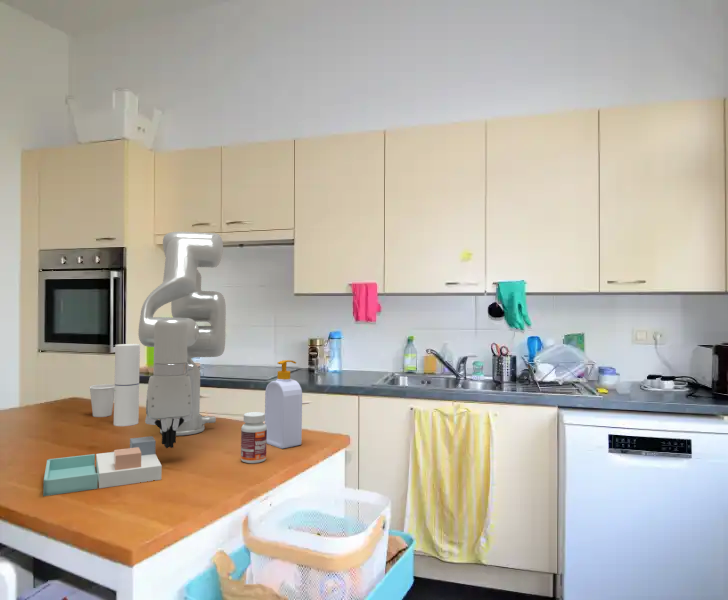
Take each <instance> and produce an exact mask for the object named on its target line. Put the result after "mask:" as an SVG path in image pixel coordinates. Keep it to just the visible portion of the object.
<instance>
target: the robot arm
mask: <svg viewBox="0 0 728 600" xmlns="http://www.w3.org/2000/svg"><path fill="white" fill-rule="evenodd" d="M162 248H163V253H164V256H165V260H164V261H165V262H164V269H163V279H162V283H161V284H159V285H158V286H157V287H155V289H153V290H152V291H151V292H150V294H149V295H147V297H146V298H145V300H144V301H143V303H142V307H141V310H140V316H139V323H138V330H137V331H138V333H137V335H138V340H139V342H140V343H141V344H142V345H143V346H144V347H147V348H153V375H151V376H149V378H148V379H149V380H148V383H147V384H148V385H147V389H146V401H145V402H146V403H145V414H146V415H145V420H144V422H145V424H146V425H152V426H156V427H158V428H159V429H160V430H159V431H160V432H159V433H160V434H161V444H162V445H163V446H164V447H165V449H169V448H171V449H172V448H173V449H174V444H176V442H177V436H188V435H189V436H190V435H195V434H199V433H201V432H204V431H205V425H206V424H213V423H214V424H215V423H216V422H217V421H216V420H217V419H216V416H214V415H212V416H209V415H205V416H203V415H202V414H200V413H201V412H200V407H201V406H200V404H201V402H200V401H201V371H200V369H199V367H198V365H197V364H196V363H195V362H194V361H193V359H192V358H195V359H196V358H217V357H221V356H223V354H224V352H225V347H226V326H227V325H226V322H227V321H226V320H227V319H226V315H227V313H226V312H227V311H226V299H225V297H224V295H223V293H221V292H219V291H212V290H211V291H210V290H203V289H202V275H201V273H200V271H199V270H198V268H218V266H219V265H220V263H221V260H222V256H223V251H224V243H223V239H222V237H221V235H220V234H218V233H215V232H213V233H212V232H199V231H198V232H196V231H171V232H168V233H166V234H164V236H163V239H162ZM167 304H171V305H170V306H171V308H170V309H171V316H172V317H170V316H169V317H162V316H157V317H156V316H155V317H154V315H155V313H156V311H158V310H159V309H160V308H161V307H163V306H164V305H167ZM198 322H199V323H209V324H210V325H198Z"/></svg>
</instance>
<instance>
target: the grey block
mask: <svg viewBox="0 0 728 600" xmlns="http://www.w3.org/2000/svg"><path fill="white" fill-rule="evenodd" d="M136 447H139V449H140V451H141V456H142V455H150V454H156V438H154V436H153V435H152V436H143V437H133V438H131V437H130V438H129V448H136Z"/></svg>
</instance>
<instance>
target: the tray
mask: <svg viewBox="0 0 728 600" xmlns="http://www.w3.org/2000/svg"><path fill="white" fill-rule="evenodd" d="M44 471H45V472H44V475H43V476H44V477H43V494H42V495H43V496H42V497H47V496H53V495H54V496H55V495H62V494H69V493H75V492H76V493H77V492H82V491H89V490H90V491H91V490H96V489H98V473H97V470H96V454H95V453H92V454H84V455H76V456H75V455H74V456H67V457H56V458H49V459H48V458H47V459H46V466H45V470H44Z"/></svg>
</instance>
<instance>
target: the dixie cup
mask: <svg viewBox="0 0 728 600" xmlns="http://www.w3.org/2000/svg"><path fill="white" fill-rule="evenodd" d="M114 386H115V383H114V384H112V383H103V384H94V385H93V384H92V385H90V386H89V387H88V388H89V392H90V402H91V403H90V404H91V409H92V410H91V411H92V417H95V418H105V417H111V416H112V415H113V409H114Z"/></svg>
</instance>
